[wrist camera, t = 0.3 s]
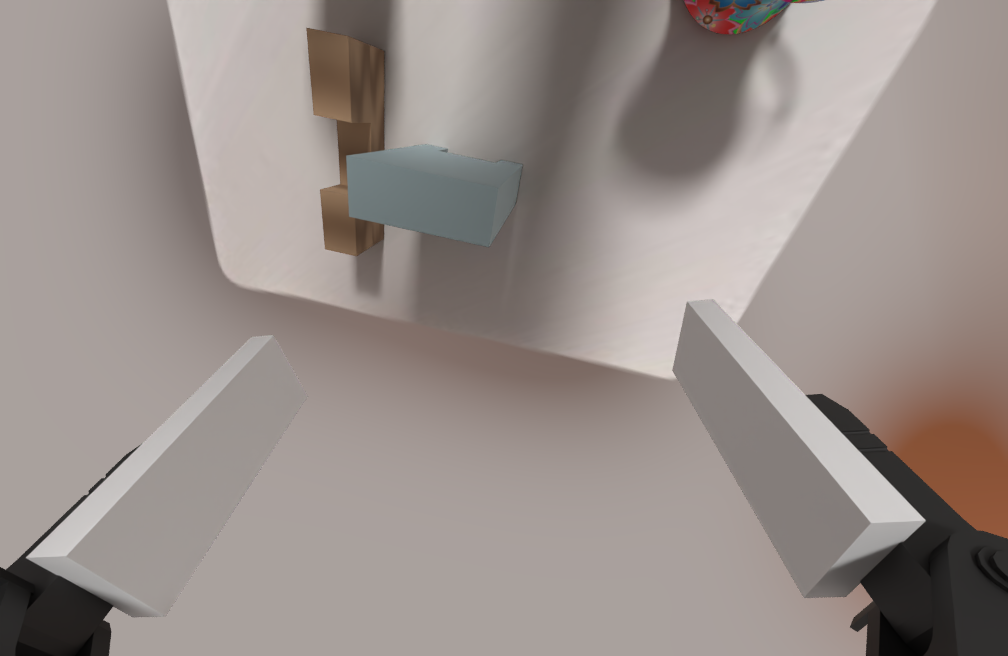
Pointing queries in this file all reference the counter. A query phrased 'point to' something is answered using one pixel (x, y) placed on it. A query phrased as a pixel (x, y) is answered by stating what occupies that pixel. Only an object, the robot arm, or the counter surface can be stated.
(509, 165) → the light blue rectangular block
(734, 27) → the mug
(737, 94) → the counter surface
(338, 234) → the wooden u-shaped block
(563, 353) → the counter surface
